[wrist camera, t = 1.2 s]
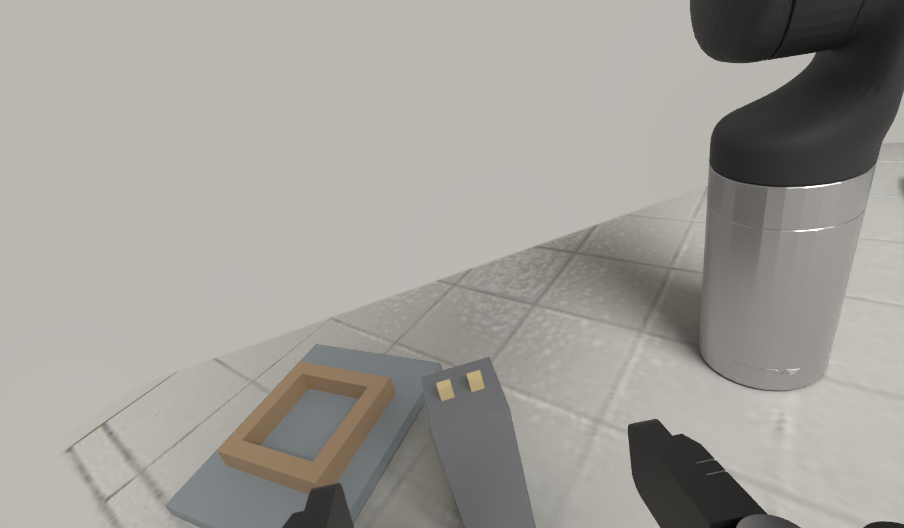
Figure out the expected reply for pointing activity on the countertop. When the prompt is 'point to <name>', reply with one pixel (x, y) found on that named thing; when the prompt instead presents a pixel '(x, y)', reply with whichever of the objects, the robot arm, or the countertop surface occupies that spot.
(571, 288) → the countertop surface
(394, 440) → the holder
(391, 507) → the countertop surface
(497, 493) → the connector
